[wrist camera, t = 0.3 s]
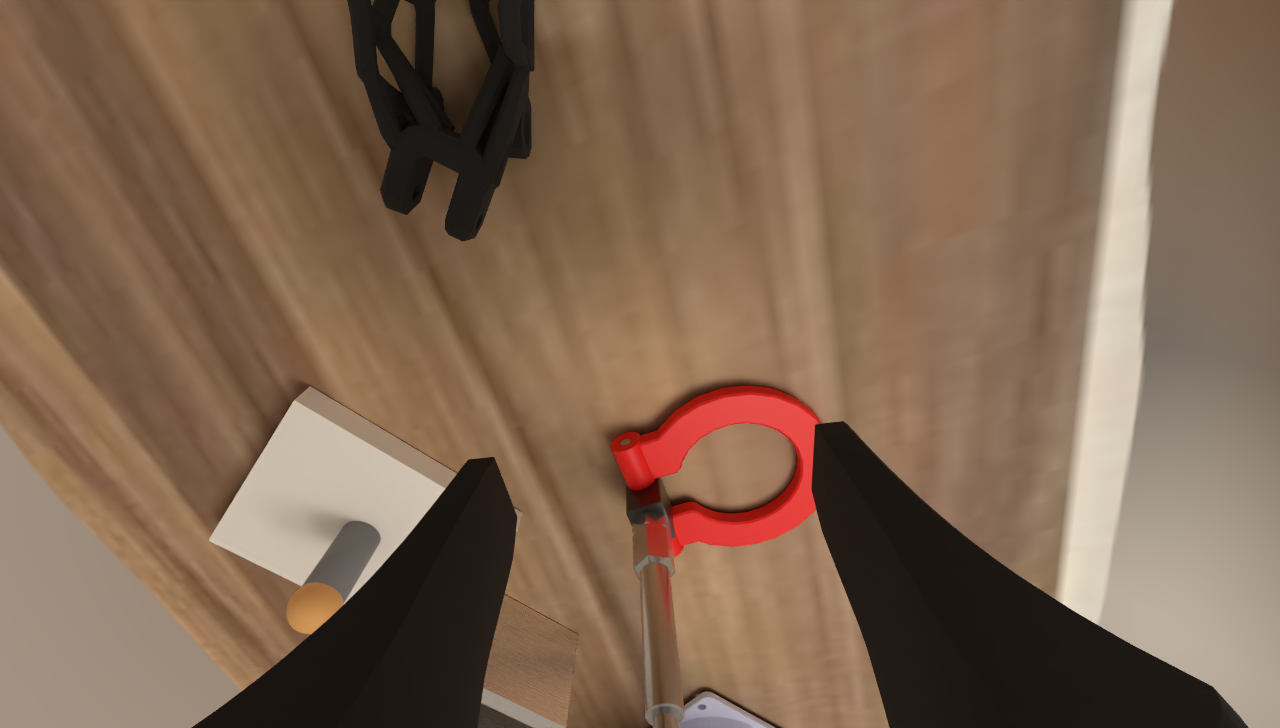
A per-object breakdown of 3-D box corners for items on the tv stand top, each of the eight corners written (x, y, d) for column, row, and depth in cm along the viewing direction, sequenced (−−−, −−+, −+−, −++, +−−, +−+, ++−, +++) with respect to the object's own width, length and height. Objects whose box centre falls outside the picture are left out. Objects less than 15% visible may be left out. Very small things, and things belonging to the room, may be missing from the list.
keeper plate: (421, 621, 31) (371, 740, 25) (225, 522, 28) (118, 632, 22) (522, 512, 27) (489, 623, 21) (310, 386, 24) (207, 476, 18)
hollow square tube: (524, 682, 33) (504, 776, 28) (444, 642, 31) (409, 735, 27) (578, 634, 31) (566, 727, 26) (495, 589, 29) (467, 680, 25)
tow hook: (807, 355, 24) (601, 419, 25) (988, 611, 12) (584, 711, 13) (840, 503, 27) (659, 553, 28) (1005, 810, 16) (686, 875, 17)
